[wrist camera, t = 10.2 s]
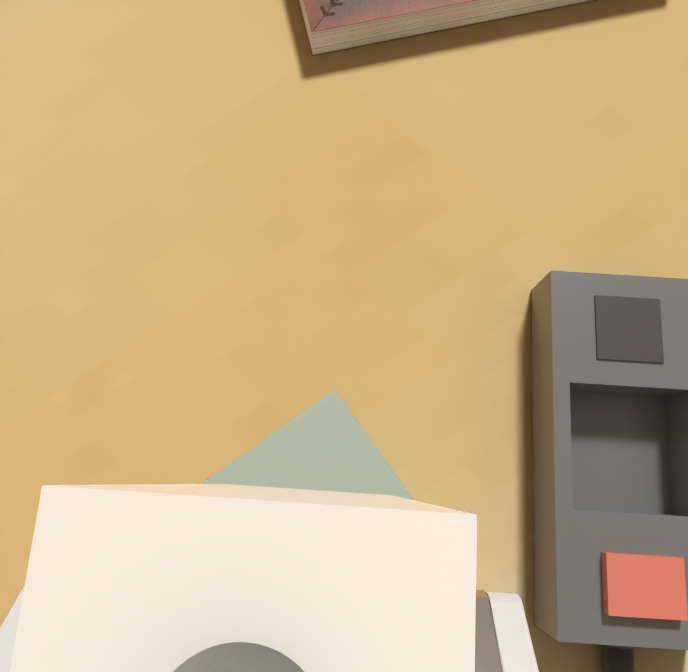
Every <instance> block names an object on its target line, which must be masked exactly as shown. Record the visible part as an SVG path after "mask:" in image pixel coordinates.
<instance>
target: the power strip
mask: <svg viewBox="0 0 688 672" xmlns="http://www.w3.org/2000/svg"><path fill="white" fill-rule="evenodd" d="M531 314H532V406H533V497H534V588H535V626H537V627H538V628H540V629H541V630H542V631H544V632H545V633H546V634H548V635H549V636H551V637H552V638H553V639H555V640H556V641H558V642H569V643H584V644H600V645H604V672H634V657H633V647H646V648H662V649H677V650H688V279H677V278H661V277H644V276H628V275H612V274H595V273H579V272H563V271H550V272H549V273H548V274H547V275H546V276H545V277H544V278H543V279H542V280H541V281H540V282H539V283H538V284H537V285H536V286H535V287H534V288H533V289H532V290H531Z"/></svg>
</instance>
